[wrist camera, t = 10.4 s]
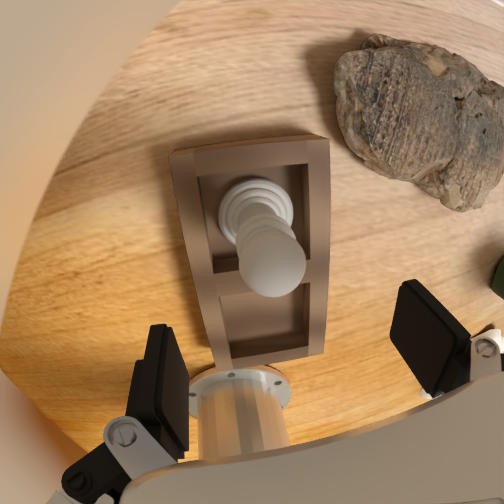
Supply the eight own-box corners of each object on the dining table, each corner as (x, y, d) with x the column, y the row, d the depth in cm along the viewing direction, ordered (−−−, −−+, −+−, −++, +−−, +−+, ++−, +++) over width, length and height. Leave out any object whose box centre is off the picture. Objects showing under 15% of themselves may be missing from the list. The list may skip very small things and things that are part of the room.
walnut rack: (314, 332, 29) (323, 353, 27) (216, 348, 29) (217, 371, 26) (314, 134, 20) (329, 139, 18) (174, 150, 20) (168, 157, 17)
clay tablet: (298, 159, 21) (468, 213, 25) (319, 171, 17) (499, 231, 21) (335, -3, 16) (497, 94, 20) (362, -24, 11) (530, 99, 15)
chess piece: (203, 222, 21) (199, 297, 13) (247, 161, 20) (272, 203, 12) (261, 258, 23) (287, 340, 15) (306, 204, 22) (357, 266, 14)
